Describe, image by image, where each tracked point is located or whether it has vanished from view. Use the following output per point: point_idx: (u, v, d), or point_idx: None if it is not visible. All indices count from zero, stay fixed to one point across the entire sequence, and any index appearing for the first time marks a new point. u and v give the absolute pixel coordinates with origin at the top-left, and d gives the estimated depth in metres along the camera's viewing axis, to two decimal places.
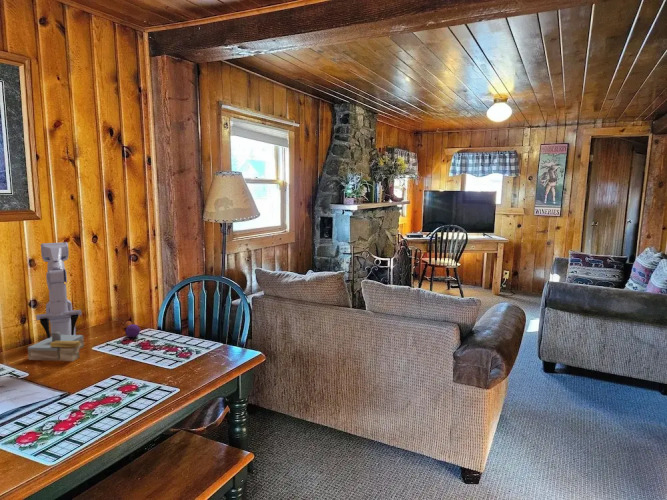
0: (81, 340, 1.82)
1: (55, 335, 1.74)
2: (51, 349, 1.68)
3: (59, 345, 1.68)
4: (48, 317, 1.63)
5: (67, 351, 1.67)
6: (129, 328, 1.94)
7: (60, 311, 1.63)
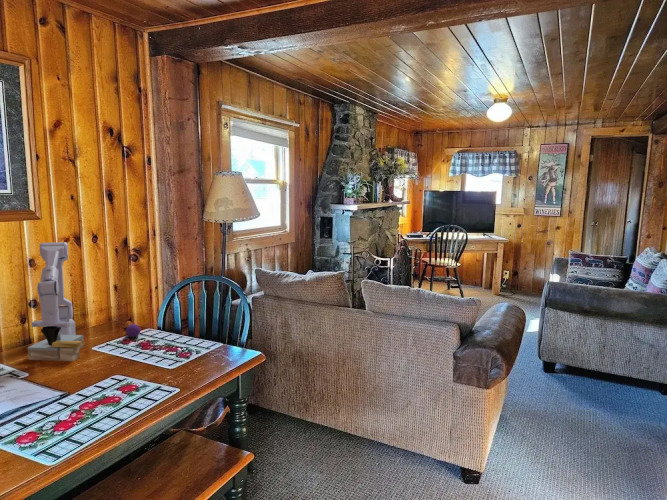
0: (81, 340, 1.82)
1: None
2: (51, 349, 1.68)
3: (61, 345, 1.68)
4: (41, 325, 1.68)
5: (67, 351, 1.67)
6: (129, 328, 1.95)
7: (46, 322, 1.65)
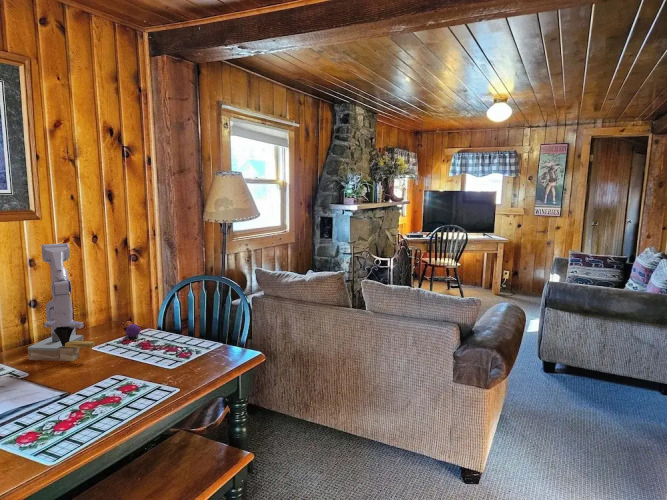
0: (81, 340, 1.82)
1: (55, 335, 1.74)
2: (51, 349, 1.68)
3: (74, 345, 1.67)
4: (54, 325, 1.68)
5: (67, 351, 1.67)
6: (129, 328, 1.95)
7: (60, 323, 1.65)
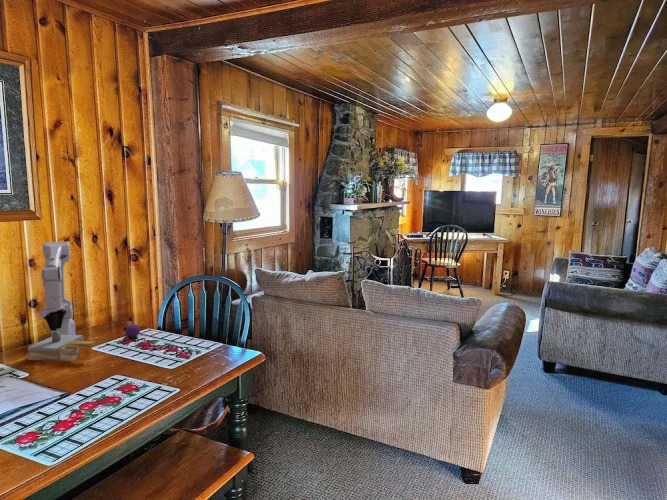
0: (81, 340, 1.82)
1: (55, 335, 1.74)
2: (51, 349, 1.68)
3: (74, 345, 1.67)
4: None
5: (67, 351, 1.67)
6: (129, 328, 1.95)
7: None
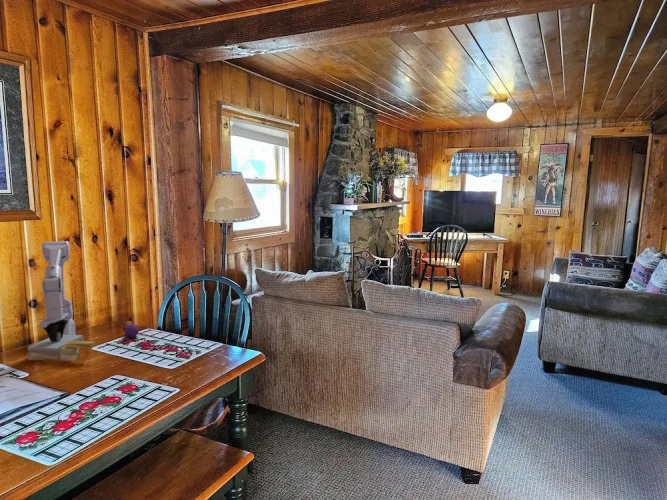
0: (81, 340, 1.82)
1: None
2: (51, 349, 1.68)
3: (74, 345, 1.67)
4: None
5: (67, 351, 1.67)
6: (128, 328, 1.95)
7: None
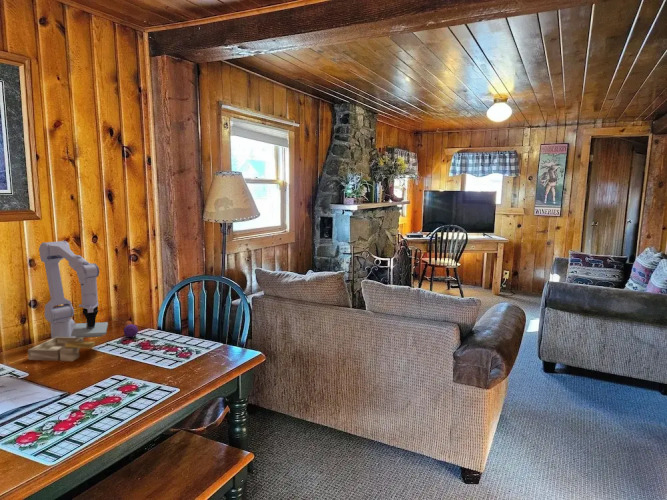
0: (81, 340, 1.82)
1: None
2: (99, 334, 1.73)
3: (74, 345, 1.67)
4: None
5: (67, 351, 1.67)
6: (127, 328, 1.95)
7: (82, 303, 1.75)
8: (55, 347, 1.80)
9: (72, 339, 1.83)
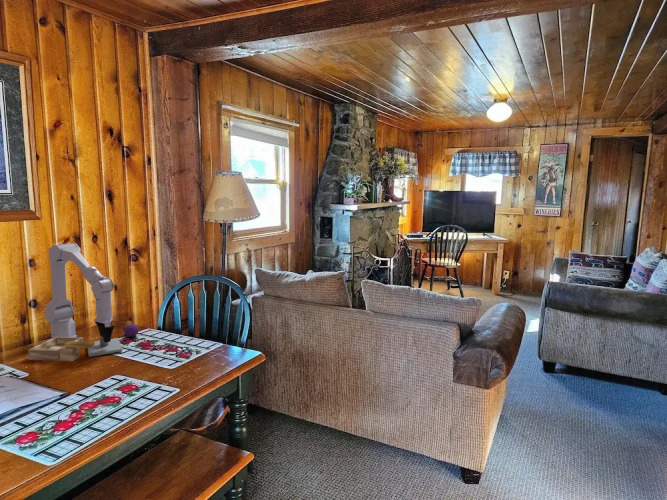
0: (81, 340, 1.82)
1: None
2: (115, 351, 1.76)
3: (74, 345, 1.67)
4: None
5: (67, 351, 1.67)
6: (127, 328, 1.95)
7: (97, 318, 1.77)
8: (55, 347, 1.80)
9: (72, 339, 1.83)
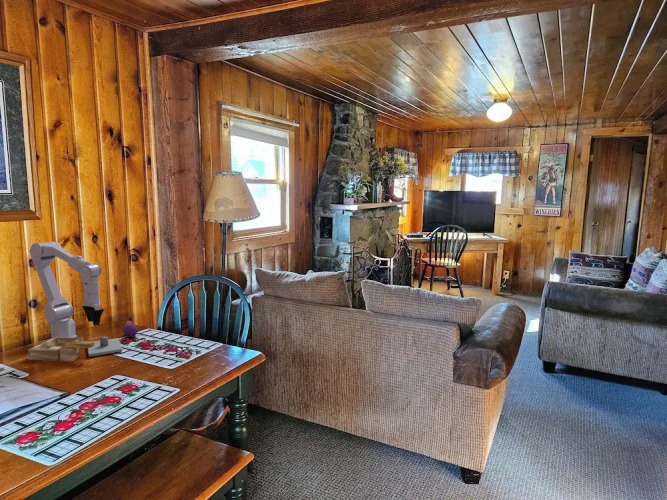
0: (81, 340, 1.82)
1: (105, 339, 1.80)
2: (115, 351, 1.76)
3: (74, 345, 1.67)
4: None
5: (67, 351, 1.67)
6: (127, 328, 1.95)
7: (85, 302, 1.82)
8: (55, 347, 1.80)
9: (72, 339, 1.83)
